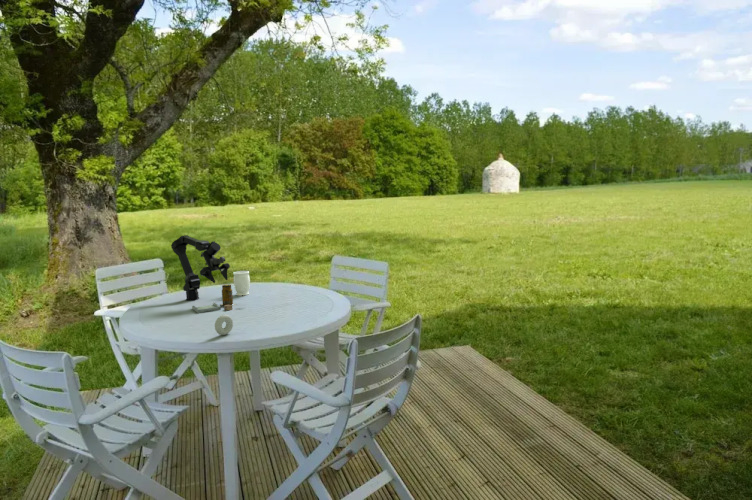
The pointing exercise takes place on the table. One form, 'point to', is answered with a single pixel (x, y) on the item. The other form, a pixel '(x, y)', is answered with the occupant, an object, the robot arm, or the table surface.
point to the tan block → (227, 307)
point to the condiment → (227, 295)
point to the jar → (241, 282)
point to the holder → (206, 308)
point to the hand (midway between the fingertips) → (221, 281)
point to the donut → (227, 328)
